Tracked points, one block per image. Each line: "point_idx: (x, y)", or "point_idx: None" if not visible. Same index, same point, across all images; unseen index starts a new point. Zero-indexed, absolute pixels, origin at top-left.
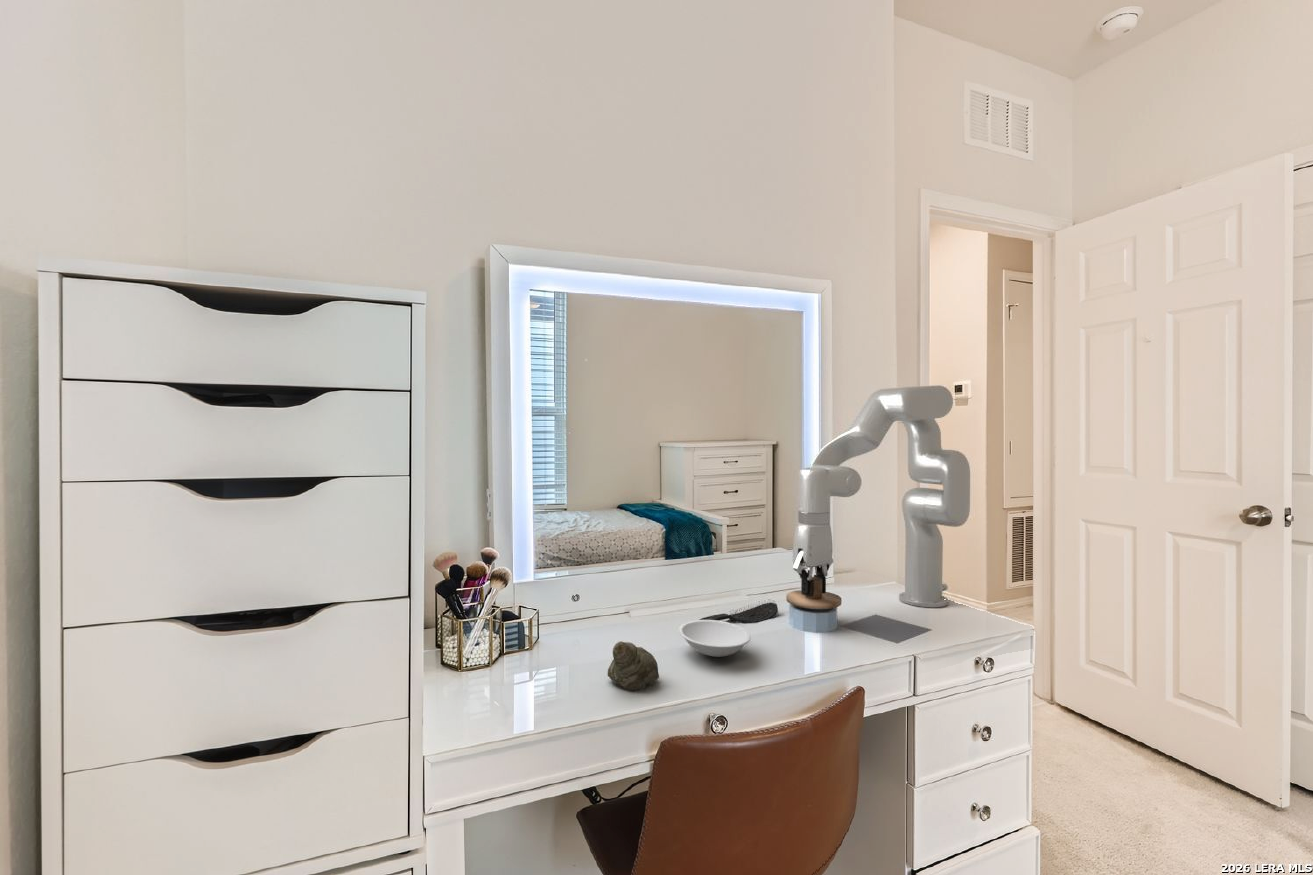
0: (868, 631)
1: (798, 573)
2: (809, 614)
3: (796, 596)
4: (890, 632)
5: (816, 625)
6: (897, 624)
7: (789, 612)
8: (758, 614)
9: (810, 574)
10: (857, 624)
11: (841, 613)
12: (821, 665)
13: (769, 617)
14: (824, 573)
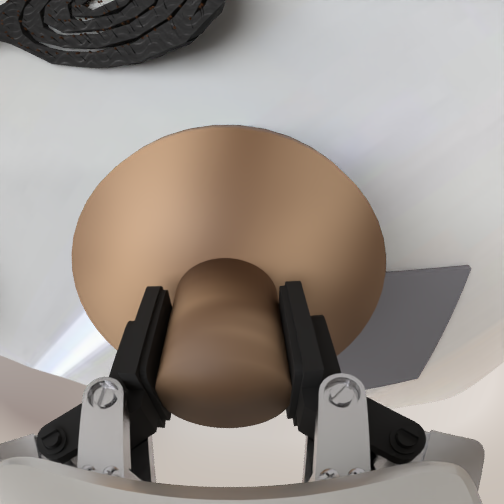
0: None
1: (51, 423)
2: None
3: (139, 240)
4: (348, 365)
5: None
6: (417, 340)
7: None
8: (123, 3)
9: (132, 459)
10: None
11: (446, 185)
12: (69, 372)
13: (125, 63)
14: (305, 445)
